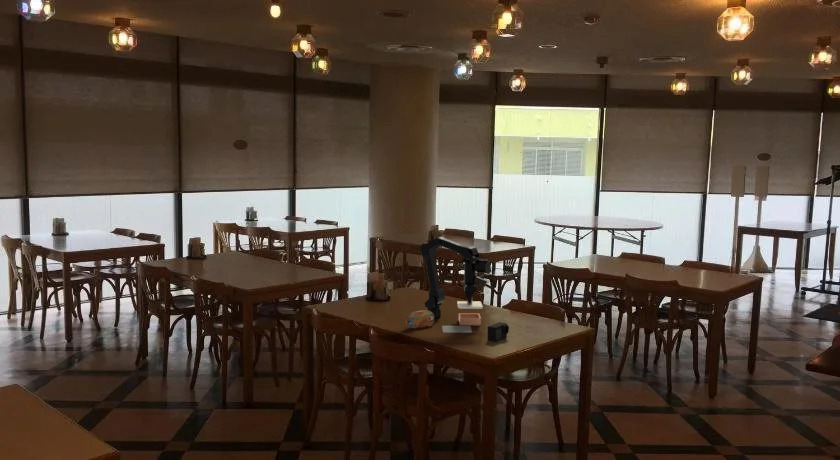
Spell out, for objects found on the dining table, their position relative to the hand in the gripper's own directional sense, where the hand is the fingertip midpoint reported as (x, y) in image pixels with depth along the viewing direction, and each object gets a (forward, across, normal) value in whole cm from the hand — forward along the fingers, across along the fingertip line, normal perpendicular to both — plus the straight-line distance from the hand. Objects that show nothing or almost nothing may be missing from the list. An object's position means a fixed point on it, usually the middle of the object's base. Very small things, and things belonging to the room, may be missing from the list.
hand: (469, 302), depth 359 cm
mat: (+11, -13, +7) cm, 18 cm away
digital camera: (+11, -30, -11) cm, 34 cm away
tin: (+11, -8, +25) cm, 28 cm away
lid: (+2, 0, 0) cm, 2 cm away
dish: (+11, 0, 0) cm, 11 cm away
